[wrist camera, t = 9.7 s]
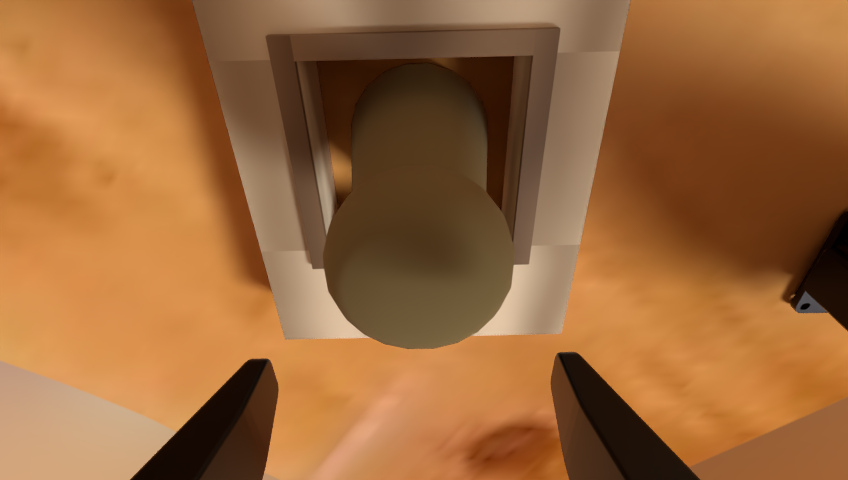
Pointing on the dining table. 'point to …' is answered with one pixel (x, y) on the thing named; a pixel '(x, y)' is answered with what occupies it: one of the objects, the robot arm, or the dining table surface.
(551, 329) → the socket board
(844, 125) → the dining table surface
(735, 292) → the dining table surface
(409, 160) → the olive tall rounded piece
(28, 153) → the dining table surface
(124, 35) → the dining table surface
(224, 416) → the robot arm
